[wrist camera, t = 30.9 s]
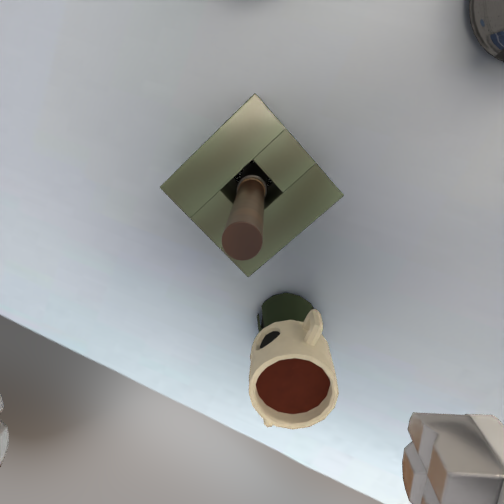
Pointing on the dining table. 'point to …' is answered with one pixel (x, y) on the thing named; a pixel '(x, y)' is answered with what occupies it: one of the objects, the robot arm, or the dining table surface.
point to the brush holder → (275, 167)
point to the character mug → (291, 365)
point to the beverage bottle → (489, 25)
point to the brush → (246, 215)
